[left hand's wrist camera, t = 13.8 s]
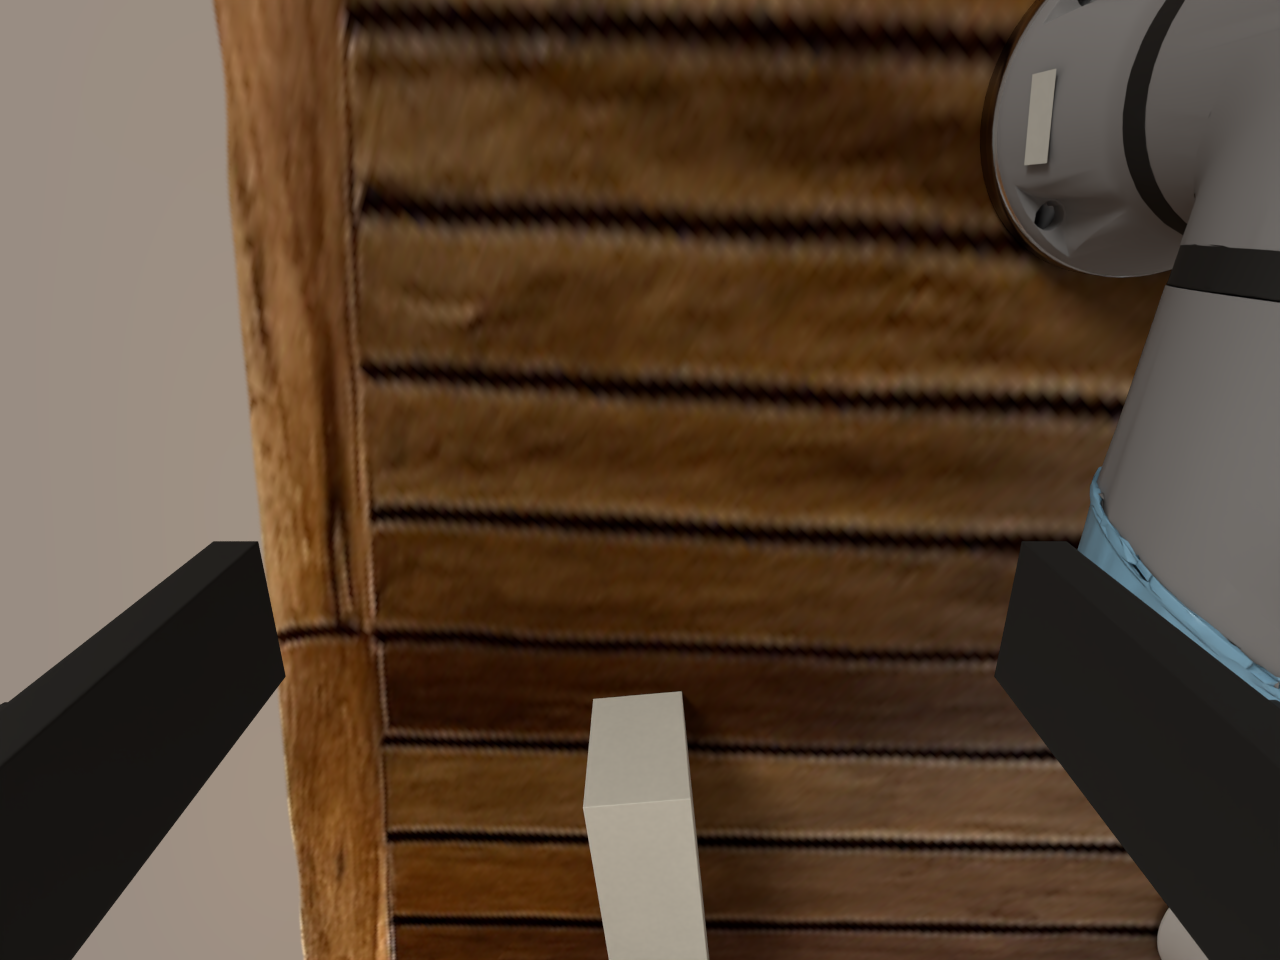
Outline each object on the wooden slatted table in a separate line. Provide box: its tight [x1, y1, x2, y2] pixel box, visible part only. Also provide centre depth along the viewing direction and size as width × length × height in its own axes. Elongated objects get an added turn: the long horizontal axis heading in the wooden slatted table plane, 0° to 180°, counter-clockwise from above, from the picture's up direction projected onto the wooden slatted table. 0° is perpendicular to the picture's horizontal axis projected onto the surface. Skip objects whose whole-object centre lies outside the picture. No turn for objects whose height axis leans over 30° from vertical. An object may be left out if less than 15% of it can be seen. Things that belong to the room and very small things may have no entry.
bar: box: [583, 692, 709, 960], centre depth 48 cm, size 25×6×9 cm, turn 6°
